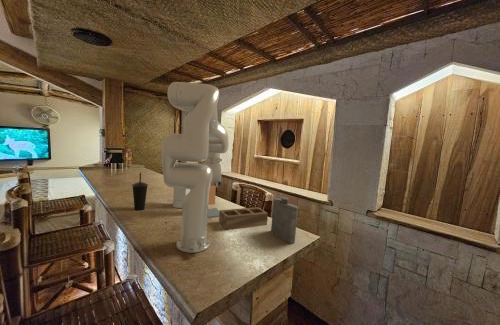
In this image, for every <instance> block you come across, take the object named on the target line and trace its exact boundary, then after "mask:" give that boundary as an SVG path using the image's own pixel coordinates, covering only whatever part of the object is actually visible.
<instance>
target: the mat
mask: <svg viewBox="0 0 500 325" xmlns="http://www.w3.org/2000/svg"><path fill="white" fill-rule="evenodd" d="M219 213H220V209H218V208H217V207H213V208H208V217H207V219H209V218H210V219H211V218H219Z"/></svg>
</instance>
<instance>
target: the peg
mask: <svg viewBox="0 0 500 325" xmlns="http://www.w3.org/2000/svg"><path fill="white" fill-rule="evenodd" d="M215 194H216V195H217V193H216V186H215V184H212V183H211V186H210V191H209V200H208V206H209V205H215V204H216V195H215Z"/></svg>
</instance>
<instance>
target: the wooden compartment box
mask: <svg viewBox="0 0 500 325" xmlns="http://www.w3.org/2000/svg"><path fill="white" fill-rule="evenodd" d="M219 211H220V213H219V217H218V222H219V224H220V225H221V226H222V227H223V228H224V230H226V231H229V230H230V231H231V230H237V229H245V228H252V227H253V228H254V227H260V226H267V225H268V220H269V219H268V218H269V217H268V216H269V213H268V212H267V211H265V210H264V209H263V208H261V207H259V206H256V207H253V206H252V207H244V208H242V207H241V208H234V209H233V208H231V209H219Z"/></svg>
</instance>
